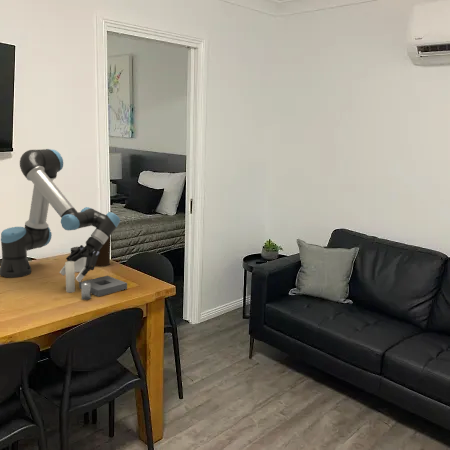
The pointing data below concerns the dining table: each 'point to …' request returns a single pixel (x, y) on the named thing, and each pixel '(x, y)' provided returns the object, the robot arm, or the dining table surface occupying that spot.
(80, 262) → the jar
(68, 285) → the long pin
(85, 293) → the short pin
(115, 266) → the dining table surface
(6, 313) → the dining table surface
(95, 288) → the hole plate
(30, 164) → the robot arm
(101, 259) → the olive oil
